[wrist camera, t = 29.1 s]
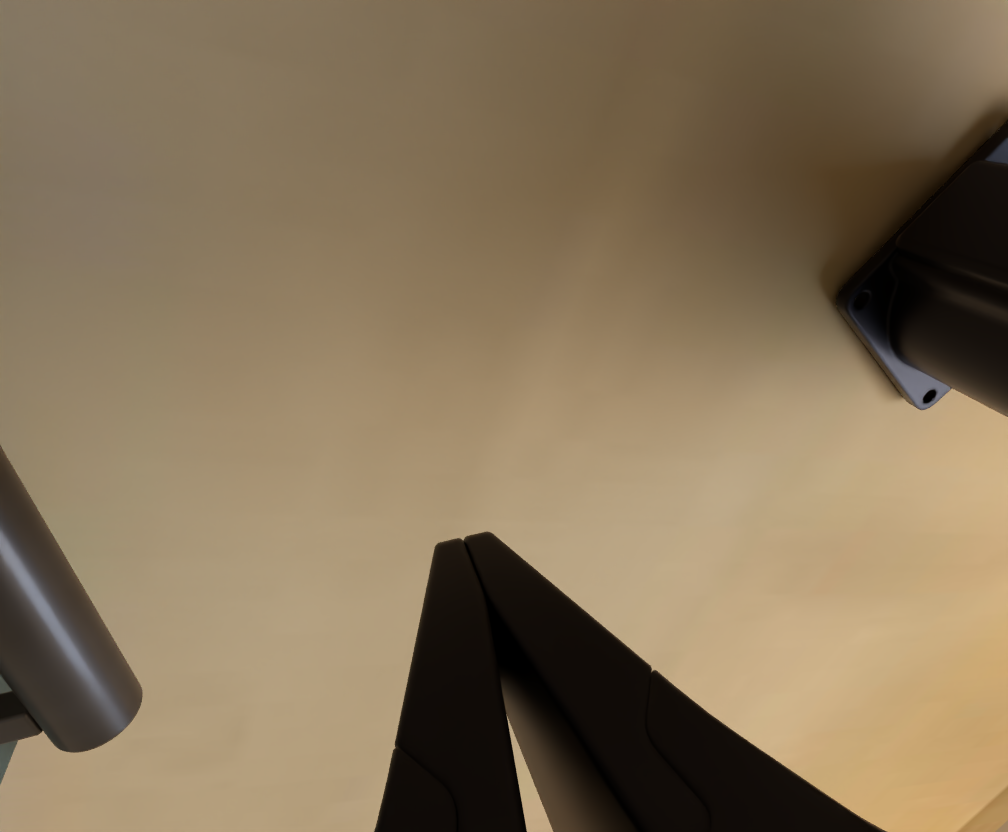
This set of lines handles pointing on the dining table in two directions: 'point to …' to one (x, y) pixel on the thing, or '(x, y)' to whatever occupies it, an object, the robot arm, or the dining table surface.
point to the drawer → (52, 640)
